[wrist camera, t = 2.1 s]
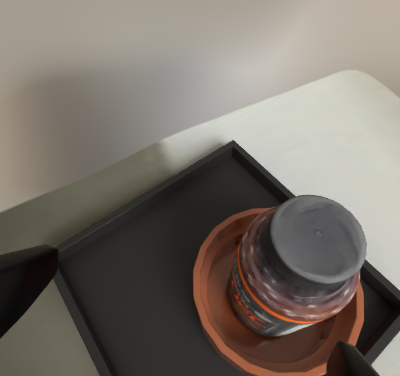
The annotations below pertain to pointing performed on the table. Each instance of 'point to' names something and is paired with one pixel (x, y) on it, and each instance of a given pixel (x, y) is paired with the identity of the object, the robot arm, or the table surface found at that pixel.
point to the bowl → (252, 342)
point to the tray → (179, 272)
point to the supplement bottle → (296, 266)
